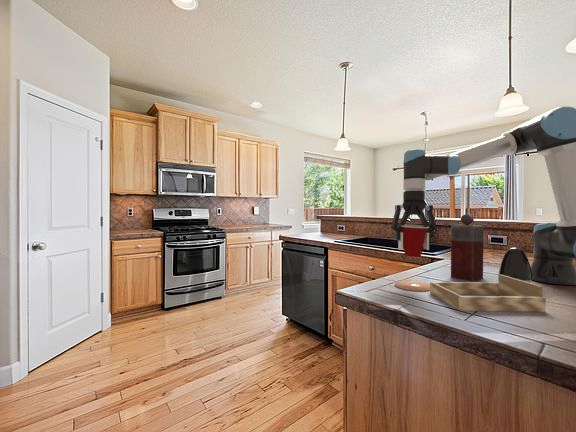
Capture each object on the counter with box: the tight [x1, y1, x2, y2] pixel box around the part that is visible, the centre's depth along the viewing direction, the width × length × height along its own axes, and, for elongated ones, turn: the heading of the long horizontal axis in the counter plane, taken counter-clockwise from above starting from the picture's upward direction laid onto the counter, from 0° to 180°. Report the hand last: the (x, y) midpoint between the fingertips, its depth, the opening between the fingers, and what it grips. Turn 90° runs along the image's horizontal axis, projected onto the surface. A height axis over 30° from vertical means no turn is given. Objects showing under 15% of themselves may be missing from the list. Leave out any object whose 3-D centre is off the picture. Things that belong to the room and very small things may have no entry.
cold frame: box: [429, 274, 546, 313], centre depth 89 cm, size 24×18×7 cm
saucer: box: [394, 279, 430, 292], centre depth 108 cm, size 13×13×1 cm
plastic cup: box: [401, 223, 429, 258], centre depth 108 cm, size 11×11×12 cm
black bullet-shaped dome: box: [498, 246, 533, 283], centre depth 109 cm, size 10×10×15 cm
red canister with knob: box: [450, 213, 484, 282], centre depth 120 cm, size 9×11×28 cm
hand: (413, 249), depth 108 cm, fingers closed on plastic cup, 9 cm apart
